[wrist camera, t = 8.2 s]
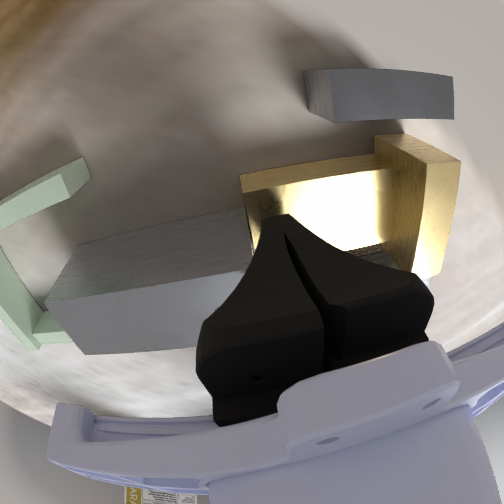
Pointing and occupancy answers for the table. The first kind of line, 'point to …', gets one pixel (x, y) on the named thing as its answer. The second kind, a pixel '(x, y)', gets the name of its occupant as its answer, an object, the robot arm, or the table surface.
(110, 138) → the table surface
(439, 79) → the socket
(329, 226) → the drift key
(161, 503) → the juice carton
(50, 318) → the pale green c-shaped piece
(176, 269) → the matte gray brick
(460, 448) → the robot arm
